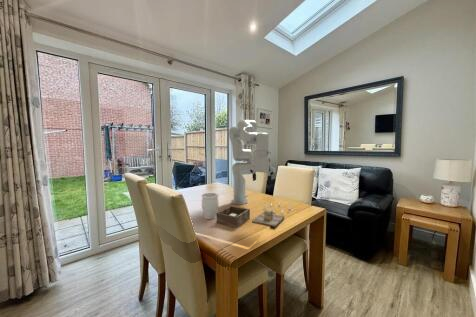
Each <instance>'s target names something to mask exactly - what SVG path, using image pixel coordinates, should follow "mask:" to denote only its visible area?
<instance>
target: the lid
mask: <svg viewBox="0 0 476 317" xmlns="http://www.w3.org/2000/svg"><path fill="white" fill-rule="evenodd" d="M273 211H274V210H273V209H268V208H267V209H266V208H265V210H264V211H263V212H261V213H260V214H259V215H258V216H256V217H255V218H254V219H252V220H251V223H253V224H259V225H264V226H267V227H268V226H269V227H270V228H276V227H278V225H279V224H281V222H282V221H283V220H284V219H285V216H284V215H281V214H280V215H279V214H275V213H273Z"/></svg>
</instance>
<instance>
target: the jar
mask: <svg viewBox="0 0 476 317" xmlns="http://www.w3.org/2000/svg"><path fill="white" fill-rule="evenodd" d="M218 197H219V194H218V193H213V192H208V193H203V194H201V198H202V199H201V210H202V213H203V214H202V215H203V217H204V218H205V219H210V220H211V219H215V218H216V213H218V212H219V198H218Z"/></svg>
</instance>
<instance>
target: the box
mask: <svg viewBox="0 0 476 317" xmlns="http://www.w3.org/2000/svg"><path fill="white" fill-rule="evenodd" d="M231 213H235V214H238V216H236V217H235V216H231V215H230V214H231ZM250 216H251V209H249V208H244V207H240V206H234V205H229V206H228V207H225V208H224V209H222V210H220V211H217V213H216V217H215V218H216V220H215V221H216V224H218V225H219V224H220V225H223V226H227V227H231V228H236V229H238V228H239V227H240V226H242V225H243V224H244V223H247V221H248V220H250V218H251V217H250Z"/></svg>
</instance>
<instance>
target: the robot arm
mask: <svg viewBox="0 0 476 317" xmlns="http://www.w3.org/2000/svg"><path fill="white" fill-rule="evenodd" d="M236 125H237V126H231V127H229V130H228V136H229V140H230V143H231V150H232V158H233V160H234V162H235V163H233V164H232V166H231V169H232V170H231V171H232V178H233V179H232V180H233V186H232V187H233V199H232V200H231V204H234V205H245V204H247V203H248V200H247V199H246V198H248V195H247V194H246V178H245V177H244V175H252V181H253V182H255V181H256V180H257V174H256V173H264V174H265V173H266V174H267V175H268V176H267V183H271V182H272V175H274V174H275V172H276V170H277V168H275V167H273V166H272V163H271V162H272V160H271V156H270V155H271V151H270V150H269V147H270V146H269V145H270V144H269V143H270V142H269V139H270V137H269V133H267V132H256V131H257V129H258V123H257V122H256V121H255V120H254V119H253V120H252V119H242V120H239V121H238V122H237V124H236ZM243 143H244V144H245V145H247V146H248V145H252V146H253V145H255V155H254V154H253V151H252V149H249V148H243V147H244V145H243Z"/></svg>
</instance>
